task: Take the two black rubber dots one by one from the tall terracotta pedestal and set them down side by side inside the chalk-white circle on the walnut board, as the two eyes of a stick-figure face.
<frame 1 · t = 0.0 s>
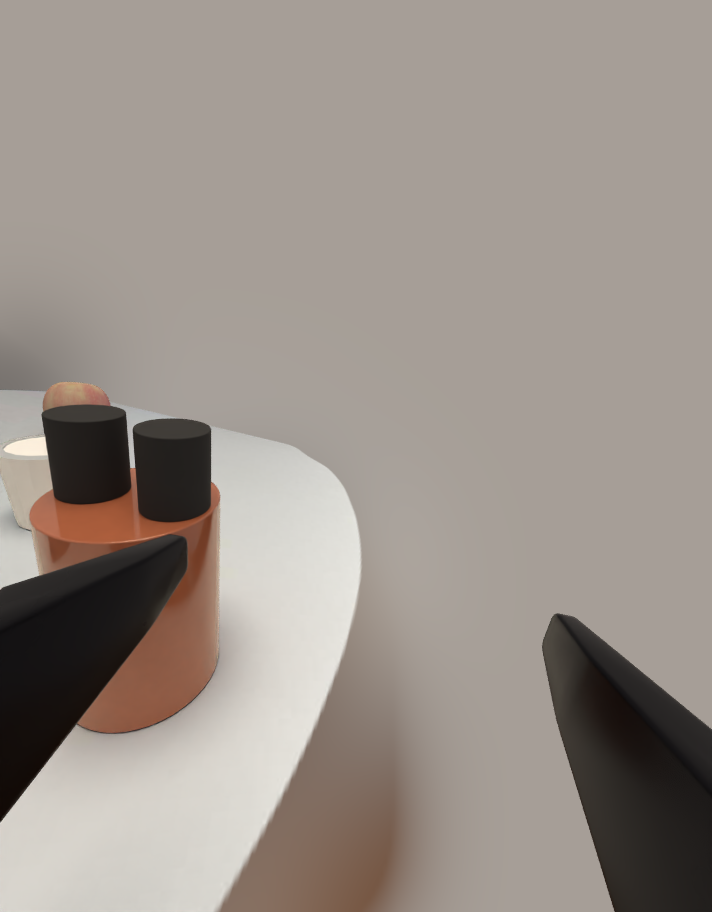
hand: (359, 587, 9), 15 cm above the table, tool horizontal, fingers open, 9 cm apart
pedestal: (147, 663, 22), on the table
dot b: (176, 505, 18), point 11 cm above the table, touching pedestal
apple: (81, 437, 55), on the table
dot a: (94, 489, 19), point 11 cm above the table, touching pedestal
off-white cylinder: (56, 516, 35), on the table
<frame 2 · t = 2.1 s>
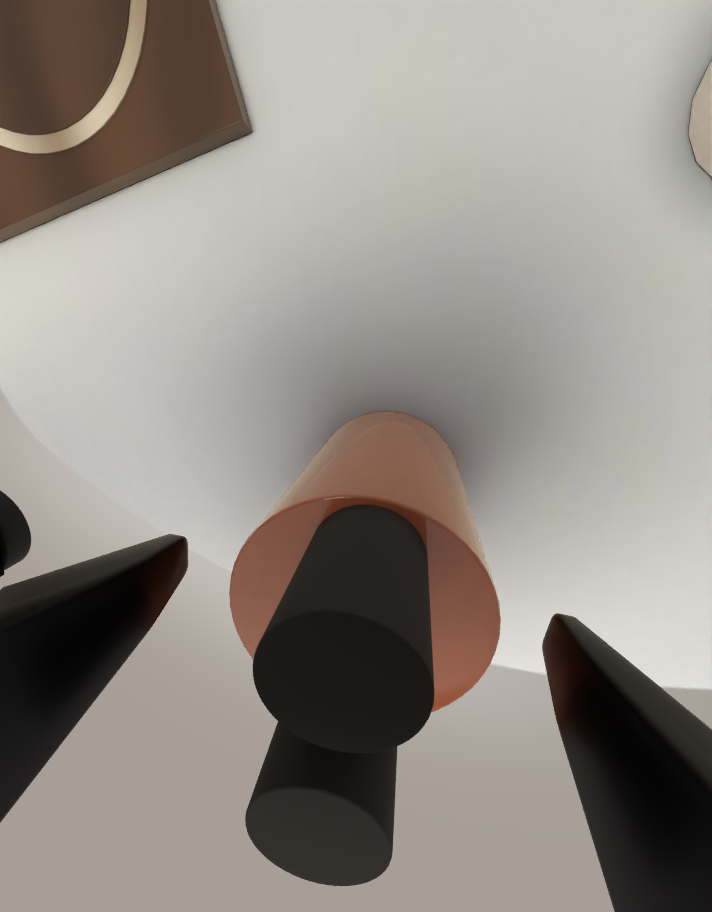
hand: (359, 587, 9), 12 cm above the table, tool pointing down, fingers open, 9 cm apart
pedestal: (386, 480, 21), on the table
dot b: (348, 676, 12), point 11 cm above the table, touching pedestal
dot a: (368, 557, 10), point 11 cm above the table, touching pedestal
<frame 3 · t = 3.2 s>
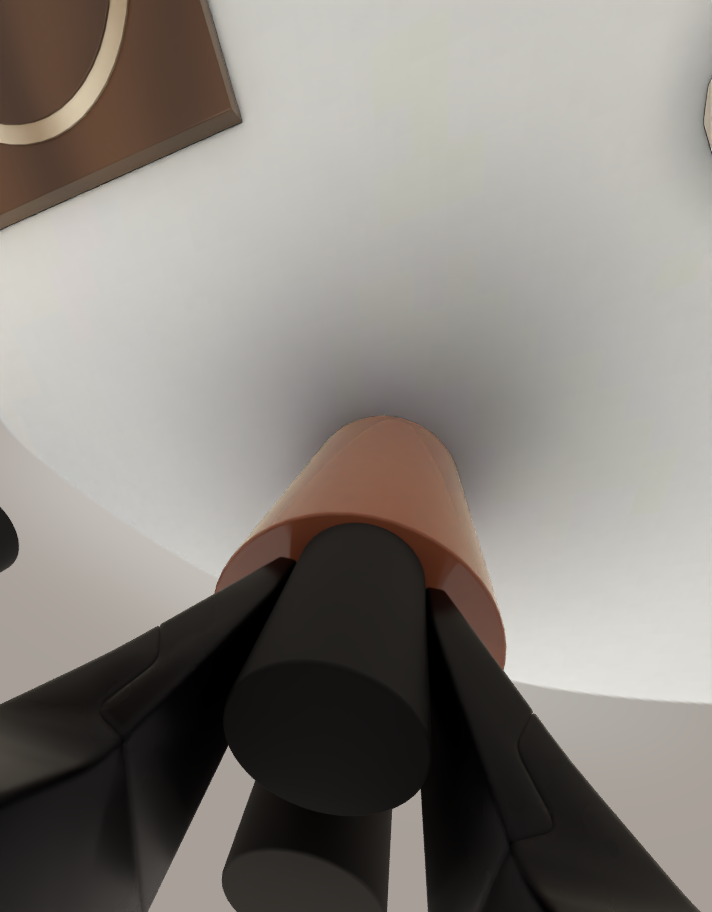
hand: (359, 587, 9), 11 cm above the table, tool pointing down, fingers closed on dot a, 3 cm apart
pedestal: (383, 487, 20), on the table
dot b: (341, 705, 11), point 11 cm above the table, touching pedestal
dot a: (360, 579, 9), point 11 cm above the table, touching gripper, pedestal
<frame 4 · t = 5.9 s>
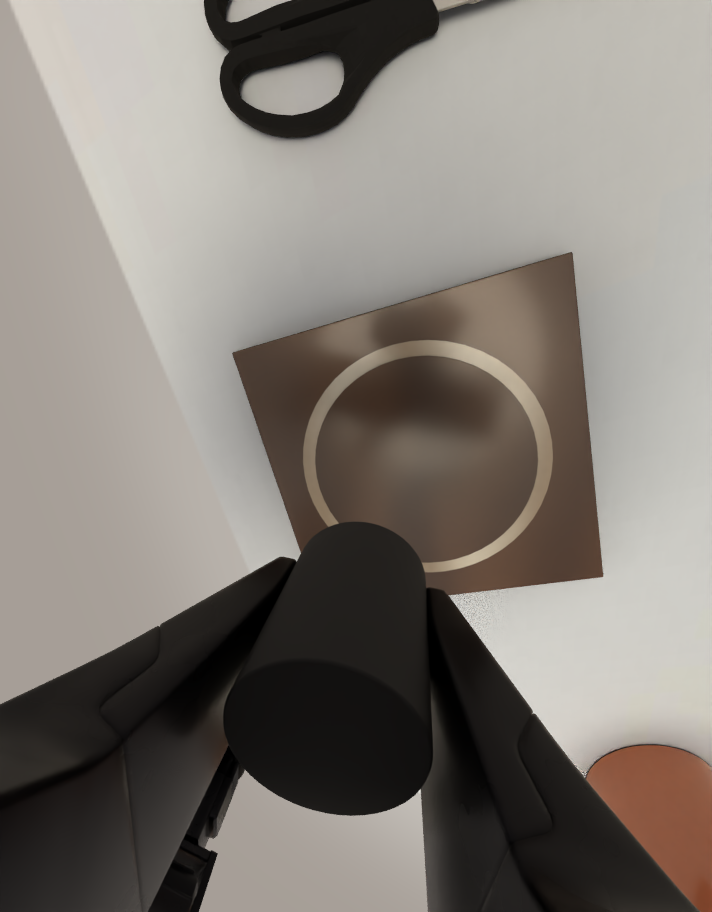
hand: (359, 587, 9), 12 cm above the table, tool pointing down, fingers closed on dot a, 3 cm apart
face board: (421, 461, 20), on the table
pedestal: (649, 787, 25), on the table
dot a: (360, 578, 9), point 12 cm above the table, touching gripper
when the fingers open (1 cm above the table, at t = 8.6 s): dot a stays where it is, resting on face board.
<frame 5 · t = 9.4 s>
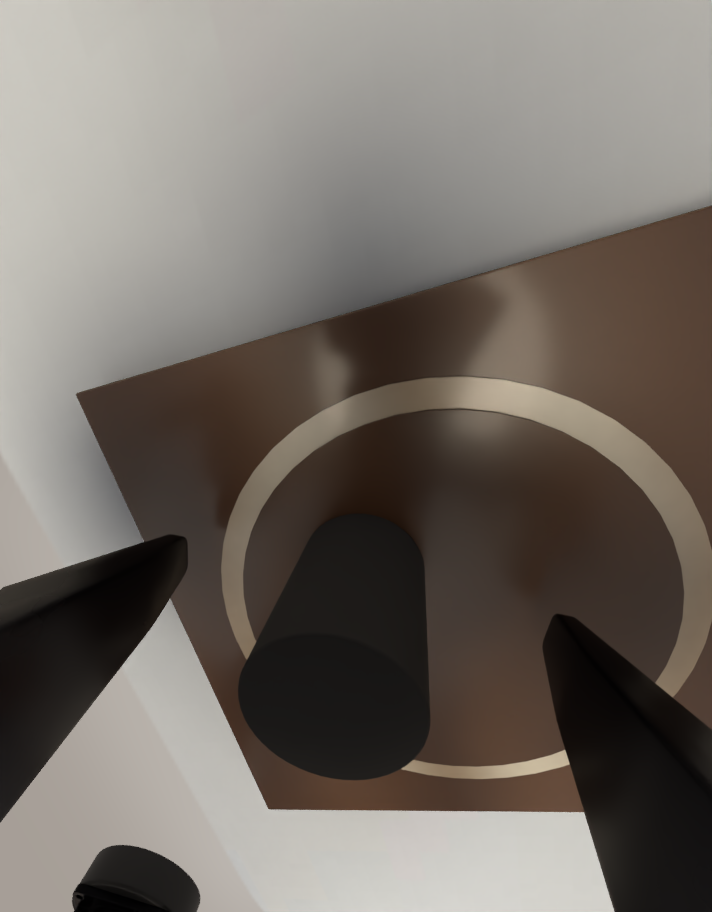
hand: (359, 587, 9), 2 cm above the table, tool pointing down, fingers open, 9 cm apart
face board: (440, 588, 11), on the table
dot a: (362, 567, 10), point 1 cm above the table, touching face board
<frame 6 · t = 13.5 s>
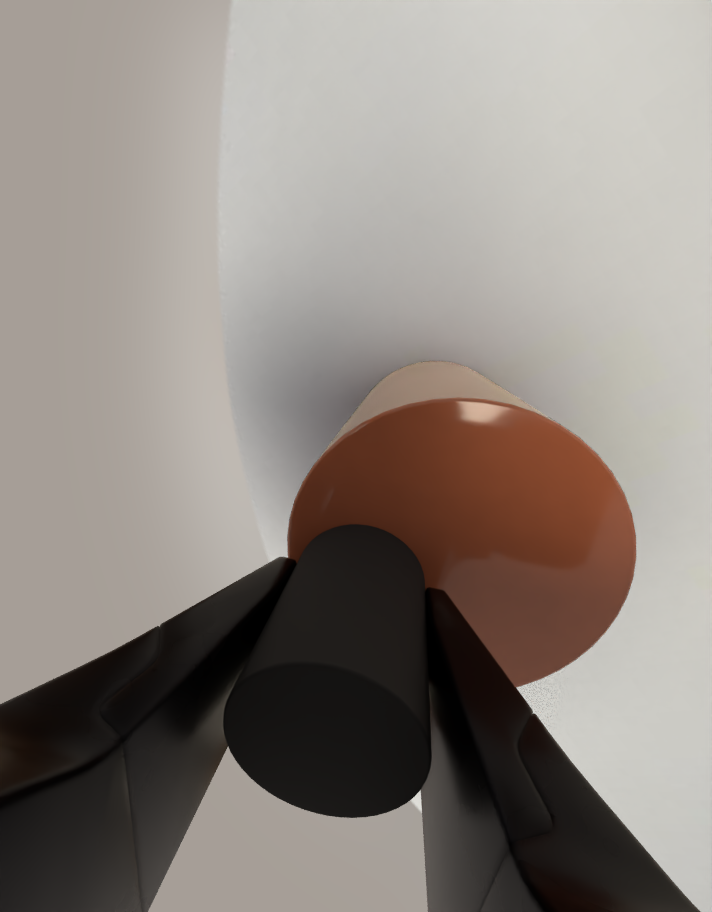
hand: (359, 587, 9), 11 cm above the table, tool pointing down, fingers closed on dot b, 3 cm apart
pedestal: (430, 440, 19), on the table
dot b: (359, 580, 9), point 11 cm above the table, touching gripper, pedestal
when the fingers open (1 cm above the table, at t = 18.9 s): dot b stays where it is, resting on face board.
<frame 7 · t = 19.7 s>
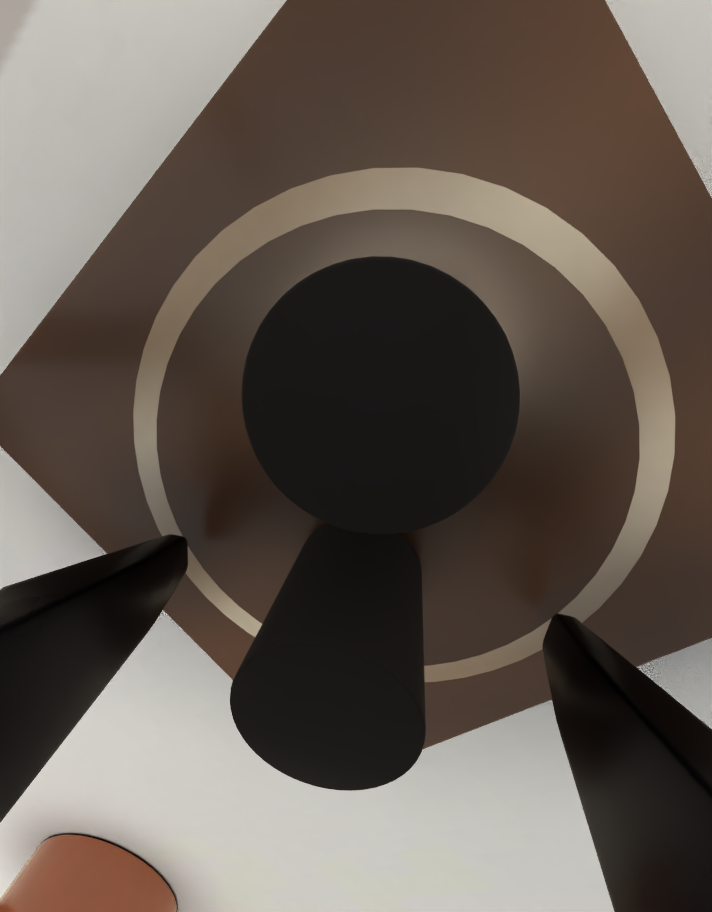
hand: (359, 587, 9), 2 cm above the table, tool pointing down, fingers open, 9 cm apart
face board: (379, 465, 10), on the table
pedestal: (106, 884, 19), on the table
dot b: (359, 571, 10), point 1 cm above the table, touching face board
dot a: (392, 374, 8), point 1 cm above the table, touching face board
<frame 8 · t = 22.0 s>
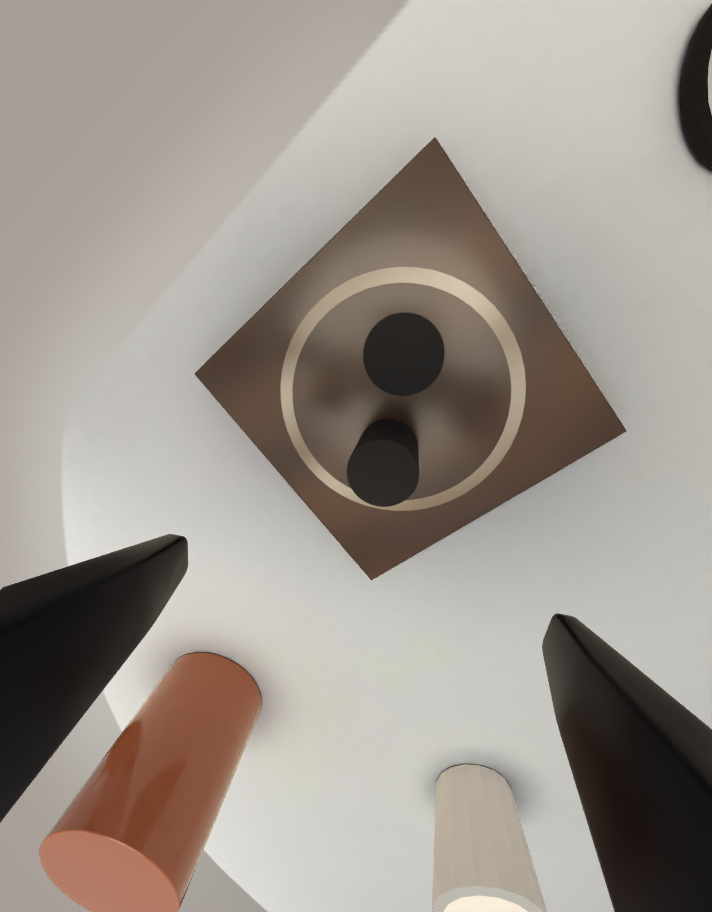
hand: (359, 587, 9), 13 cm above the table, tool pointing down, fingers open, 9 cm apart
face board: (397, 397, 20), on the table
pedestal: (214, 691, 30), on the table
dot b: (388, 447, 20), point 1 cm above the table, touching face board
dot a: (405, 351, 18), point 1 cm above the table, touching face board
off-white cylinder: (472, 786, 29), on the table
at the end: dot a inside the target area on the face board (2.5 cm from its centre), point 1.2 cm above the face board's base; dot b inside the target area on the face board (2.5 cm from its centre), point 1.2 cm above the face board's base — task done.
